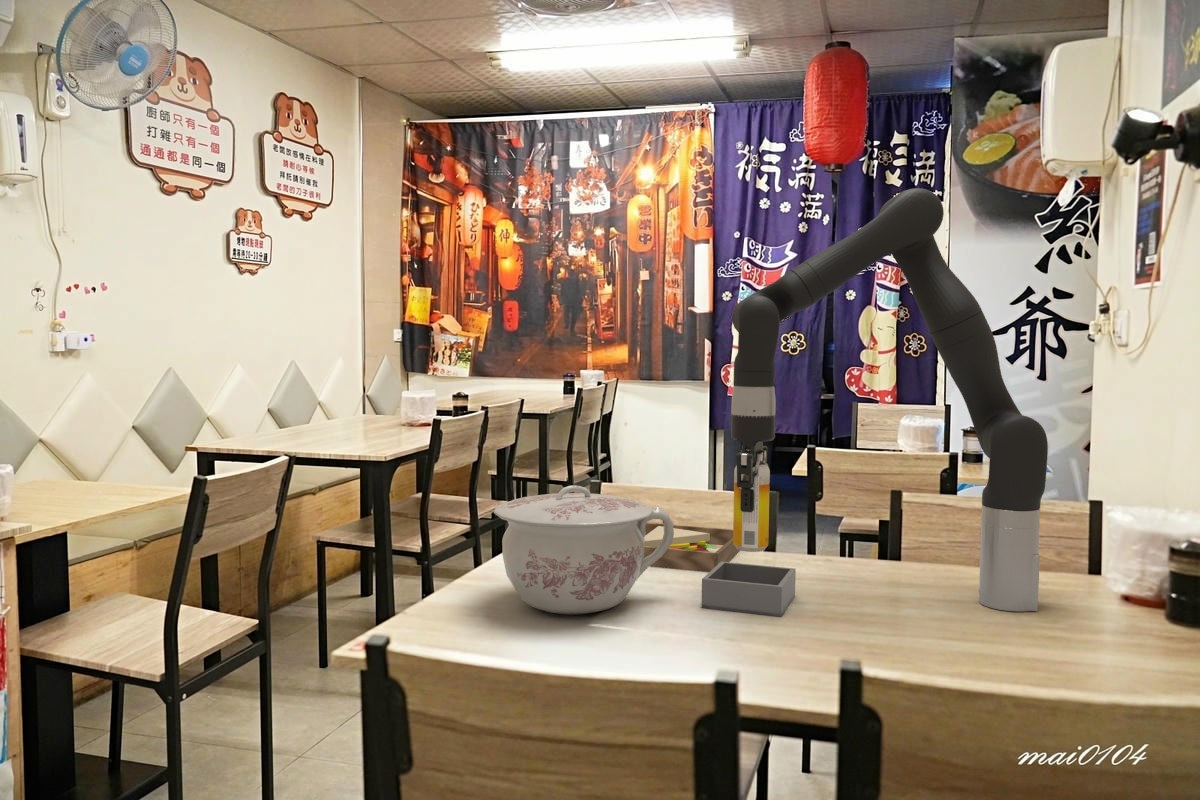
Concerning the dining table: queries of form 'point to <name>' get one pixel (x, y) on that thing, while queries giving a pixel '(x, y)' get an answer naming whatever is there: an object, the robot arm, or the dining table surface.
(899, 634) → the dining table surface
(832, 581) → the dining table surface
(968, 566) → the dining table surface
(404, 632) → the dining table surface
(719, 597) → the box
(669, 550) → the serving board rim
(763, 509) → the beer can
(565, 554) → the chamber pot
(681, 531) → the sandwich
